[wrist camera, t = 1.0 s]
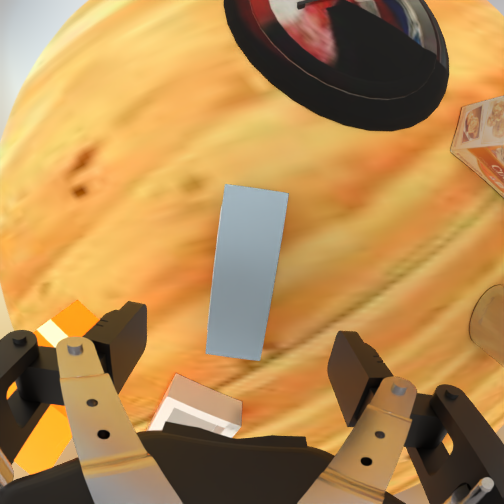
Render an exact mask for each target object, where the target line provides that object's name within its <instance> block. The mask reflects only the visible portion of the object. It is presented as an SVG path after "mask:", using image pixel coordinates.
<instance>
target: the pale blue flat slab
mask: <svg viewBox="0 0 504 504" xmlns="http://www.w3.org/2000/svg"><path fill="white" fill-rule="evenodd" d="M288 196H289V193H284V192H278V191H271V190H265V189H258V188H251V187H244V186H236V185H229V184H225V189H224V196H223V203H222V205H221V212H220V220H219V228H218V236H217V244H216V252H215V260H214V269H213V278H212V287H211V296H210V306H209V316H208V326H207V330H208V334H207V344H206V354H211V355H218V356H225V357H232V358H240V359H248V360H257V361H260V358H261V353H262V348H263V343H264V337H265V332H266V326H267V321H268V315H269V310H270V304H271V299H272V293H273V287H274V282H275V276H276V270H277V264H278V258H279V252H280V246H281V240H282V234H283V228H284V221H285V215H286V209H287V202H288Z"/></svg>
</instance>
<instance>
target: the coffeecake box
mask: <svg viewBox="0 0 504 504" xmlns="http://www.w3.org/2000/svg"><path fill="white" fill-rule="evenodd" d="M450 152H451V153H453V154H454V155H455V156H456V157H458V158H459V159H460V160H461V161H463V162H464V163H465V164H466V165H467V166H469V167H470V168H471V169H472V170H473V171H475V172H476V173H477V174H478V175H479V176H480V177H481V178H483V179H484V180H485V181H486V182H487V183H488V184H489V185H490V186H491V187H493V188H494V189H495V190H496V191H497V192H498V193H499V194H500V195H501V196H502V197H503V198H504V96H500V97H496V98H493V99H489V100H485V101H482V102H478V103H474V104H471V105H467V106H464V107H462V110H461V115H460V119H459V123H458V127H457V130H456V133H455V136H454V139H453V143H452V147H451V150H450Z"/></svg>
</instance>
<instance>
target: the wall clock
mask: <svg viewBox="0 0 504 504" xmlns="http://www.w3.org/2000/svg"><path fill="white" fill-rule="evenodd" d="M224 8H225V13H226V18H227V22H228V25H229V27H230V29H231V32H232V34H233V36H234V38H235V40H236V42H237V44H238V45H239V47H240V48H241V49H242V51H243V52H244V54H245V55H246V56H247V58H248V59H249V60H250V62H251V63H252V64H253V65H254V66H255V67H256V68H257V69H258V70H259V71H260V72H261V73H262V74H263V75H264V76H265V77H266V78H267V79H268V80H269V81H270V82H271V83H272V84H273V85H275V86H276V87H277V88H279V89H280V90H281V91H282V92H284V93H285V94H286V95H288V96H289V97H290V98H292V99H293V100H294V101H296V102H298V103H299V104H301V105H303V106H305V107H306V108H308V109H310V110H312V111H313V112H315V113H317V114H318V115H320V116H323V117H326V118H328V119H331V120H333V121H336V122H339V123H341V124H343V125H347V126H352V127H356V128H361V129H365V130H371V131H394V130H399V129H404V128H409V127H412V126H414V125H416V124H417V123H419V122H421V121H423V120H425V119H426V118H428V116H429V115H430V114H431V113H432V112H433V111H434V110H435V109H436V108H437V107H438V106H439V104H440V102H441V100H442V98H443V96H444V94H445V92H446V88H447V83H448V78H449V57H448V53H447V48H446V44H445V40H444V37H443V34H442V32H441V29H440V27H439V25H438V22H437V20H436V18H435V17H434V15H433V13H432V12H431V10H430V9H429V7H428V5H427V4H426V2H425V1H424V0H224Z"/></svg>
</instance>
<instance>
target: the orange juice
mask: <svg viewBox="0 0 504 504" xmlns="http://www.w3.org/2000/svg"><path fill="white" fill-rule="evenodd" d="M98 321H99V319H98V318H97V317H95V316H94V315H93V314H92V313H91V312H90V311H89V310H88V309H87V308H86V307H85V306H84V305H82V304H81V303H80V302H79V301H78V300H77V301H75V302H74V303H72V304H71V305H70V306H68V307H67V308H66V309H64V310H63V311H62V312H60V313H59V314H58V315H56V316H55V317H53V318H52V319H50V320H49V321H47V322H46V323H45V324H43V325H42V326H41V327H39V328H38V329H37V330H36V331H35V332H34V334H35V335H36V337H37V341H38V346H46V347H56V345H57V343H58V342H59V341H60V340H62V339H64V338H67V337H72V336H79V337H82V336H83V335H84V334H85V333H86V332H87V331H88V330H89V329H90V328H91V327H93V326H94V325H95V324H96V323H97V322H98ZM16 389H17V386H16V383H15V382H14V383H13V384H12V385H11V386H10V387H9V389H8V392H7V399H8V398H9V397H10V396H11V394H12V393H13V392H14V391H15V390H16ZM71 438H72V433H71V430H70V426H69V422H68V418H67V414H66V409H65V406H61V405H53V404H51V405H50V406H49V408H48V409H47V411H46V412H45V414H44V415H43V416H42V418H41V419H40V421H39V422H38V424H37V425H36V427H35V428H34V430H33V431H32V433H31V435H30V436H29V438H28V439H27V441H26V442H25V444H24V445H23V447H22V449H21V450H20V452H19V453H18V455H17V457H16V458H15V460H14V462H16V463H17V464H18V465H19V466H20V467H22V468H23V469H24V470H25V471H27V472H28V473H29V474H30V475H31V474H34V473H37V472H40V471H43V470H46V469H49V468H52V467H53V466H54V464H55V462H56V461H57V459H58V458H59V456H60V455H61V453H62V452H63V450H64V449H65V447H66V446H67V444H68V443H69V441H70V440H71Z"/></svg>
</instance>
